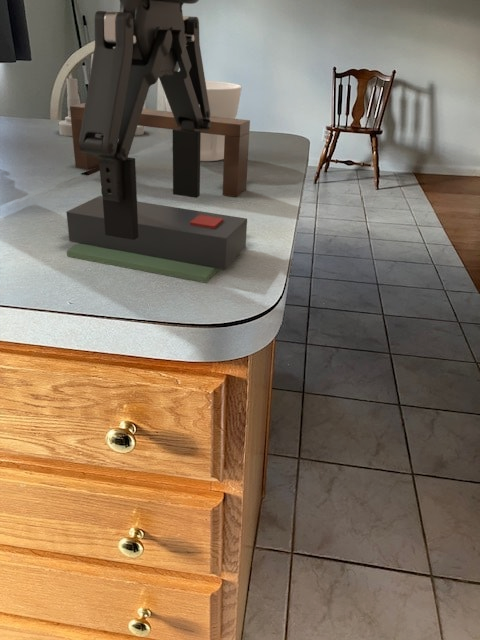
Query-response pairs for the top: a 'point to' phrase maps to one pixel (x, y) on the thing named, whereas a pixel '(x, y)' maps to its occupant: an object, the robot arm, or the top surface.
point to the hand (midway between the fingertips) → (157, 213)
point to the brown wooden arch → (229, 127)
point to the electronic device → (73, 99)
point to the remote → (165, 233)
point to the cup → (221, 105)
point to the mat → (142, 262)
